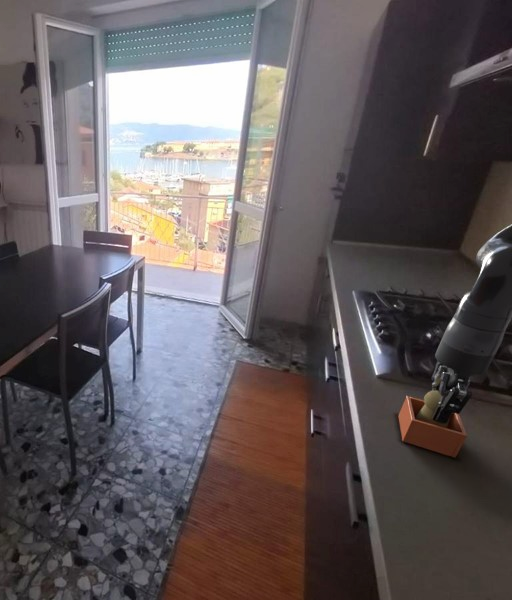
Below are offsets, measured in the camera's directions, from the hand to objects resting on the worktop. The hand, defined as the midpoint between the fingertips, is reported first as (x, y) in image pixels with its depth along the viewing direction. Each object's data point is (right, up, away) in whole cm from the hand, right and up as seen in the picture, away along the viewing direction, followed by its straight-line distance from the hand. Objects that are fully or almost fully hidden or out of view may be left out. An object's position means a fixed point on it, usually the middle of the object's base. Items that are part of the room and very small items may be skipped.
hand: (436, 411), depth 74 cm
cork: (0, -6, +3) cm, 7 cm away
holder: (0, -6, +3) cm, 7 cm away
